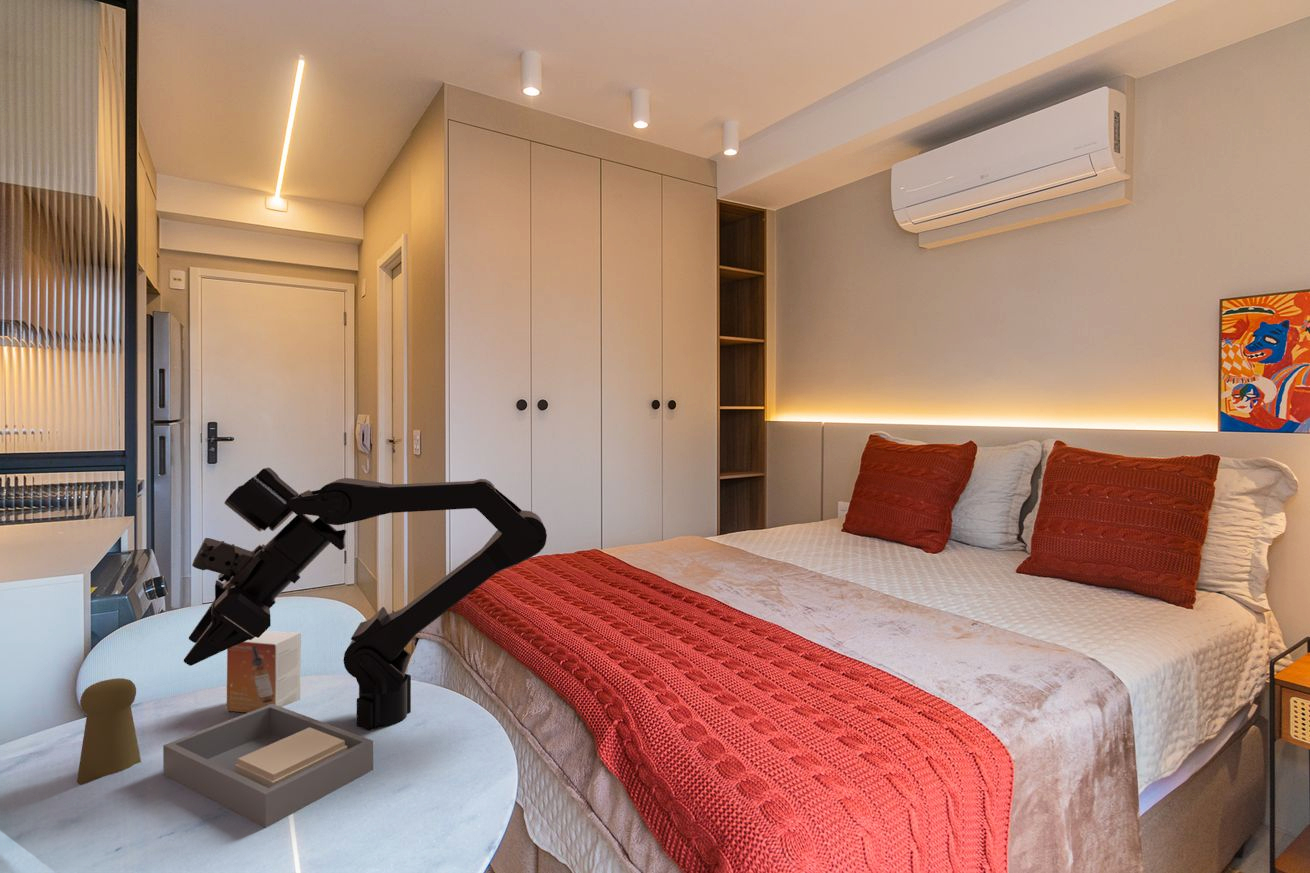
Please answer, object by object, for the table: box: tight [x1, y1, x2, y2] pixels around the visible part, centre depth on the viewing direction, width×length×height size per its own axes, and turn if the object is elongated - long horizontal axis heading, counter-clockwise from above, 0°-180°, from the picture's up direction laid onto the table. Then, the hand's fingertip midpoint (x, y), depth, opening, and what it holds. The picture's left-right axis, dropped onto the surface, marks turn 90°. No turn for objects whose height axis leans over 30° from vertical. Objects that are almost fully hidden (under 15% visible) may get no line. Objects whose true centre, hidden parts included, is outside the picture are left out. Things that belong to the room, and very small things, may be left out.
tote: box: [162, 704, 374, 829], centre depth 79 cm, size 13×20×4 cm, turn 61°
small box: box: [226, 630, 302, 713], centre depth 99 cm, size 8×6×10 cm
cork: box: [76, 677, 142, 786], centre depth 80 cm, size 6×6×11 cm
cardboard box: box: [235, 727, 347, 788], centre depth 77 cm, size 9×7×4 cm
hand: (189, 651), depth 84 cm, fingers open, 9 cm apart
